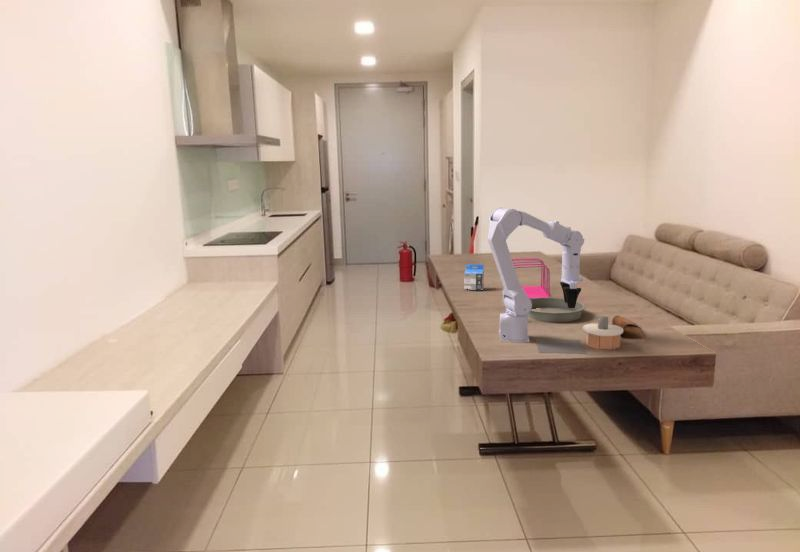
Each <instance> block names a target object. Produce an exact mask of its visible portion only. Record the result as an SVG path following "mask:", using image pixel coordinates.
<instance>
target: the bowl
mask: <svg viewBox="0 0 800 552" xmlns="http://www.w3.org/2000/svg"><path fill="white" fill-rule="evenodd" d="M585 334H586V337H585V340H586V341H585V343H586V345H587V347H590V348H592V349H593V348H594V349H597V350H615V349H618V348H620V347H621V335H617V336H597V335H592V334H588V333H586V332H585Z"/></svg>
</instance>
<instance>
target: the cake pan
mask: <svg viewBox="0 0 800 552" xmlns="http://www.w3.org/2000/svg"><path fill="white" fill-rule="evenodd" d="M530 300H531V302H532V308H531V310H530V312H529V313H528V317H529V318H532V319H531V320H533V319H535V320H534V321H537V320H539V321H538V322H544V321H545V322H546V323H565V322H573V321H576V320H578V319H580V318H581V315H582V312H583V311H584V310H585V309H586V308H587V307H586V304H585V303H583V302H581V301H579V300H577V301H576V306H575V308H568V305H567V303H565V300H564V297H543V298H532V299H530ZM536 308H541V309H542V310H541V309H540V311H537V310H532V309H536ZM529 318H528V319H529Z"/></svg>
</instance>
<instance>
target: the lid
mask: <svg viewBox="0 0 800 552" xmlns="http://www.w3.org/2000/svg"><path fill="white" fill-rule="evenodd" d="M597 319H598V320H597V322H594V323H587V324H584V325H583V326H582V331H583V332H584V333H585V334H586V333H588V334H592V335H597V336H617V335H621V334H623V328H622V327H620V326H617V325H613V323H612V324H611V323H609V316H605V315H599V316H598V317H597Z"/></svg>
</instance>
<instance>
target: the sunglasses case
mask: <svg viewBox="0 0 800 552" xmlns="http://www.w3.org/2000/svg"><path fill="white" fill-rule="evenodd" d="M611 321H612V322H611V323H612V324H613V325H617V326H620V327H622V328H623V334H621V336H620V338H622V339H630V340H631V339H632V340H634V339H636V340H637V339H638V340H645V339H646V336H645V335H644V333H643V331H642V330H641V328H640V327H639V325H638V324H637V323H636V322H634V321H632V320H630V319H629V318H626V317H624V316H621V315H616V316H614V317H613V318H612V320H611Z"/></svg>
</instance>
